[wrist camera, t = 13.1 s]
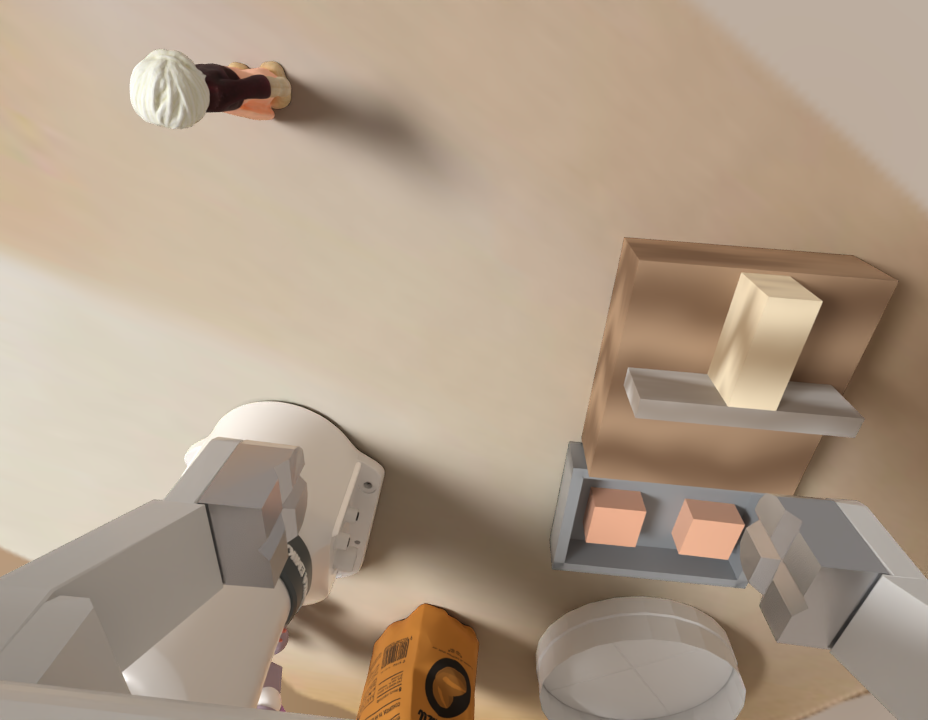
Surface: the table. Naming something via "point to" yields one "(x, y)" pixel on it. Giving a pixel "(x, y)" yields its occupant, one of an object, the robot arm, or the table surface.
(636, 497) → the terracotta tile
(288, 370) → the table surface
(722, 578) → the box
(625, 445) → the walnut board
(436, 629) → the coffee package
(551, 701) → the dish
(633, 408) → the scraper
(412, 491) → the table surface
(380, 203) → the table surface
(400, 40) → the table surface
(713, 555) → the terracotta tile
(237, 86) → the grandmother figurine
